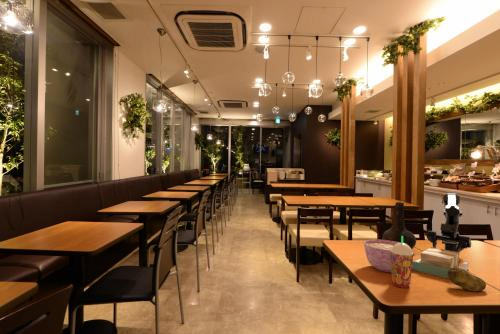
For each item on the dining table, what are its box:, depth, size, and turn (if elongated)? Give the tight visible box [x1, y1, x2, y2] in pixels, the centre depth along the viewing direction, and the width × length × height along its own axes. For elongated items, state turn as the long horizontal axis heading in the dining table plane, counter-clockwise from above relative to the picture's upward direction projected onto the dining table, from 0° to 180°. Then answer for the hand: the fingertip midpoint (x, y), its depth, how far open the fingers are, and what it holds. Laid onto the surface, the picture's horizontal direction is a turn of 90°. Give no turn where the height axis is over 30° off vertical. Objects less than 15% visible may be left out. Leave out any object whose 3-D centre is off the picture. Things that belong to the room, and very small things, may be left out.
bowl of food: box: [363, 239, 399, 273], centre depth 144 cm, size 20×20×12 cm
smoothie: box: [391, 236, 415, 289], centre depth 125 cm, size 8×8×20 cm
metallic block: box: [420, 246, 460, 269], centre depth 145 cm, size 16×12×8 cm
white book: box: [412, 257, 469, 280], centre depth 146 cm, size 23×18×4 cm
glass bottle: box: [381, 201, 417, 250], centre depth 178 cm, size 18×18×28 cm
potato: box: [447, 267, 487, 292], centre depth 122 cm, size 8×13×8 cm, turn 57°
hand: (444, 252), depth 151 cm, fingers open, 9 cm apart
